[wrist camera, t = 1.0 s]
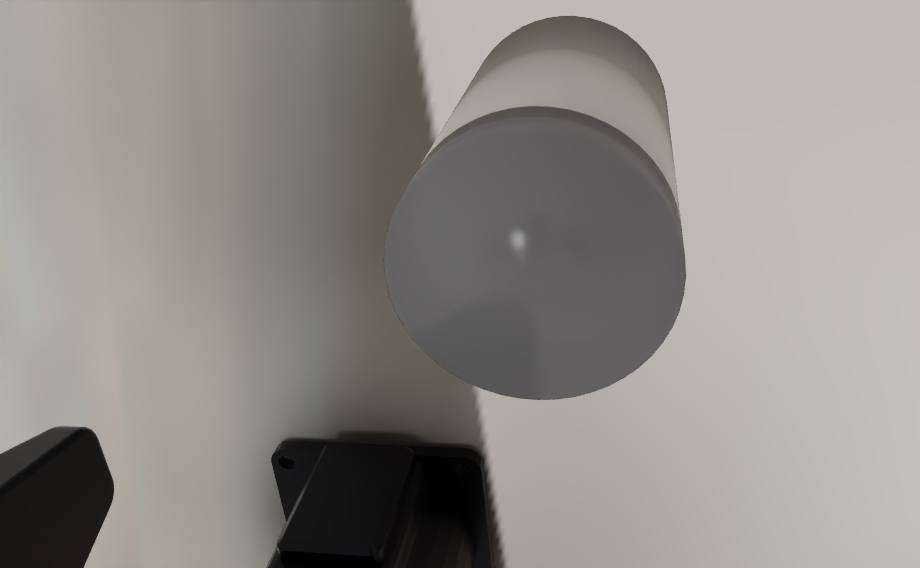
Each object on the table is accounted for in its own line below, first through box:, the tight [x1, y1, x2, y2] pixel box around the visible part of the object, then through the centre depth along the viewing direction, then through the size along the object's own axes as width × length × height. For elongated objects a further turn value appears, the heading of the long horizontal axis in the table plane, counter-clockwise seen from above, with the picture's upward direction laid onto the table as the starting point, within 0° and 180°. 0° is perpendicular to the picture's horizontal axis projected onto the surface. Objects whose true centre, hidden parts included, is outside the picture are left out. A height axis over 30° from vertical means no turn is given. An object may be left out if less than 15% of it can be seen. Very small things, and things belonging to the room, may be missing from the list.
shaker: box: [384, 16, 686, 400], centre depth 16 cm, size 5×5×8 cm
